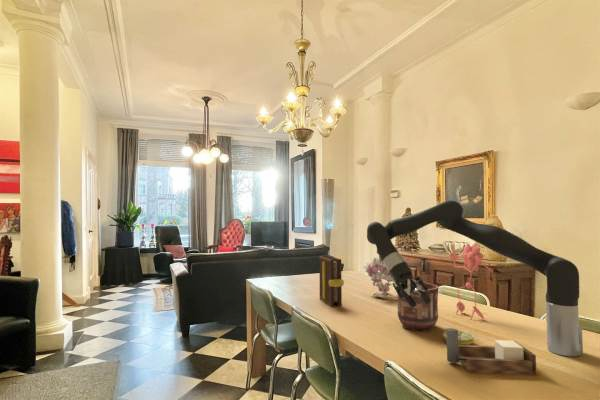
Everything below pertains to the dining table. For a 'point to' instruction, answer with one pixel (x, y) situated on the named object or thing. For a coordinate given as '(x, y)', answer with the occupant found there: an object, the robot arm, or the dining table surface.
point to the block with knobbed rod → (501, 352)
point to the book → (330, 280)
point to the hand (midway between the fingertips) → (421, 304)
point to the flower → (373, 270)
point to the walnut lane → (495, 361)
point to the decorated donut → (462, 338)
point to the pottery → (419, 310)
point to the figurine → (471, 259)
